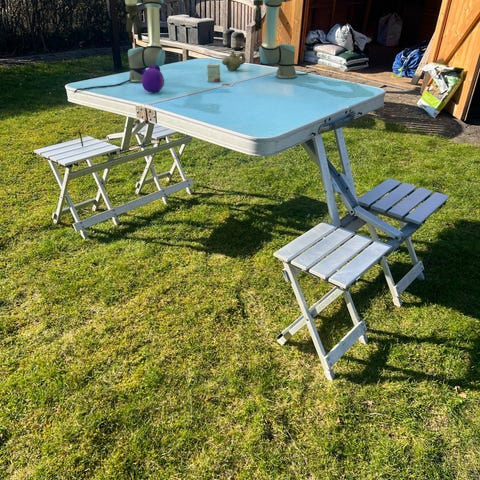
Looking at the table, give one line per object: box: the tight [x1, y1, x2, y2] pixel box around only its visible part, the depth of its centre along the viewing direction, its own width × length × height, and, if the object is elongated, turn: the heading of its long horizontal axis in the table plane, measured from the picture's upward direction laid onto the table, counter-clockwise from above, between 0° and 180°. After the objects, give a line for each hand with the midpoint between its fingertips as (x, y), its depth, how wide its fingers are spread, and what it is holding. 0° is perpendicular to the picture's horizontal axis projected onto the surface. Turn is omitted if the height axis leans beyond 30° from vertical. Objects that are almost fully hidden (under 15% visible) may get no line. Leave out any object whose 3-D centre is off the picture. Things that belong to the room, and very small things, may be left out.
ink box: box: [206, 64, 221, 83], centre depth 330 cm, size 9×5×12 cm, turn 78°
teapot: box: [221, 50, 246, 72], centre depth 367 cm, size 21×12×15 cm, turn 120°
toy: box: [134, 65, 165, 94], centre depth 304 cm, size 16×18×27 cm
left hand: (136, 41), depth 291 cm, fingers open, 13 cm apart
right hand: (258, 30), depth 357 cm, fingers open, 13 cm apart
